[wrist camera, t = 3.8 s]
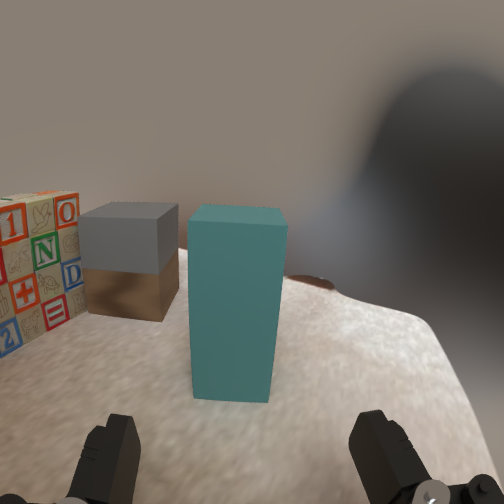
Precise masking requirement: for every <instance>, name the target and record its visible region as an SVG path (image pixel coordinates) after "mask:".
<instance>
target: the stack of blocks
mask: <svg viewBox="0 0 504 504" xmlns="http://www.w3.org/2000/svg"><path fill="white" fill-rule="evenodd" d="M78 216H80V212H79V193H78V192H68V191H44V192H38V193H32V194H25V193H23V194H18V195H13V196H9V197H3V198H1V200H0V358H2V357H3V356H5V355H7V354H9V353H10V352H12V351H14V350H16V349H17V348H19V347H21V346H22V345H24V344H26V343H28V342H29V341H31V340H33V339H35V338H36V337H38V336H40V335H42V334H44V333H45V332H48V331H50V330H52V329H54V328H55V327H57V326H59V325H61V324H63V323H64V322H66V321H68V320H70V319H72V318H74V317H76V316H77V315H79V314H81V313H83V312H85V311H87V310H88V306H87V300H86V294H85V287H84V281H83V274H82V263H81V255H80V245H79V234H78V221H77V217H78Z"/></svg>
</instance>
